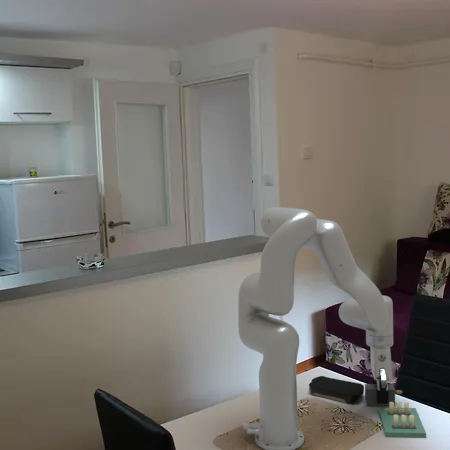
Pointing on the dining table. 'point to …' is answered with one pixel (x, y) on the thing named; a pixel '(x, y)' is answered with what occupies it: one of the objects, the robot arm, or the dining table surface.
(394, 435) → the header board
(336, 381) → the black sponge
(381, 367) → the robot arm
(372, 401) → the plug housing
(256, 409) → the dining table surface
